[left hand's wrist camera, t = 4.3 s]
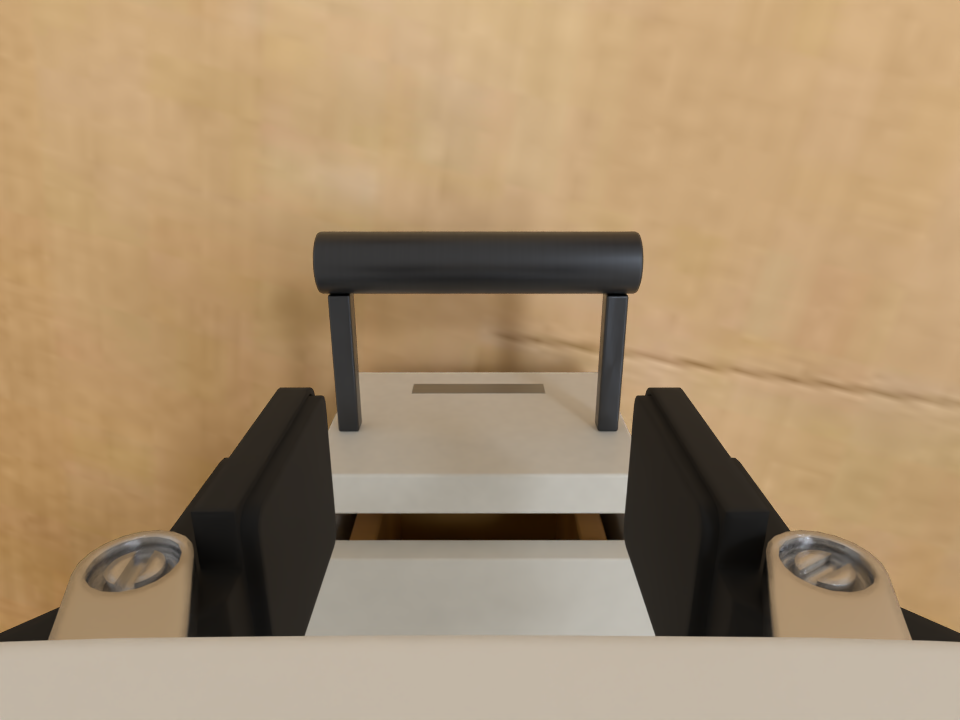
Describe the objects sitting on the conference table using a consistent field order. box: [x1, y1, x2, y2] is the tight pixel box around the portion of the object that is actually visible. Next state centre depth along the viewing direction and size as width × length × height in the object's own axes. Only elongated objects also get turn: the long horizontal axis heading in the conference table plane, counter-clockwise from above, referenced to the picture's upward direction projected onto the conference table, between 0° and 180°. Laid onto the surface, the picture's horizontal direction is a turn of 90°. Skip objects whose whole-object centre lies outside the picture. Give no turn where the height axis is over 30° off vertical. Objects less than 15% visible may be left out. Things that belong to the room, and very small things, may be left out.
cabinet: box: [305, 513, 655, 636], centre depth 24 cm, size 18×10×9 cm, turn 0°
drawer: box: [313, 232, 643, 540], centre depth 23 cm, size 22×9×7 cm, turn 0°
